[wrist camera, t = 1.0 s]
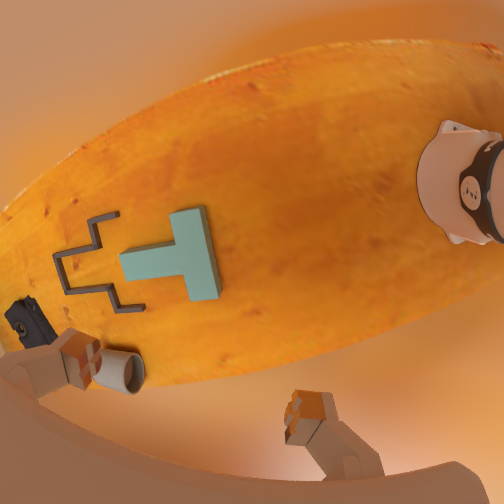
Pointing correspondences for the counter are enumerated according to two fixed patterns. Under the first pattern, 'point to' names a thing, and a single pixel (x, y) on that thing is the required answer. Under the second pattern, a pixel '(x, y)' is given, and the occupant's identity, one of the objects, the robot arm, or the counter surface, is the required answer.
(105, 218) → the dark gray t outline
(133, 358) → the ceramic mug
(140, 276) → the teal T block
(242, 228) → the counter surface
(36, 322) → the dark slate chunk
